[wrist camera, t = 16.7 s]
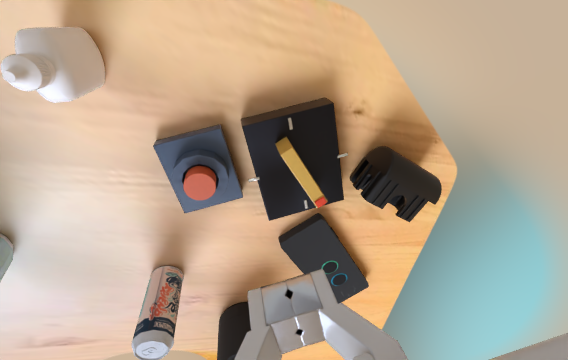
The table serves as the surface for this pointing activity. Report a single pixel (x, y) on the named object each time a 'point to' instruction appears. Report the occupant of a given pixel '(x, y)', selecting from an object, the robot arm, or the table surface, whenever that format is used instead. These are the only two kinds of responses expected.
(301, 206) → the rotary switch
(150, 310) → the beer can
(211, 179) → the button
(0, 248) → the disposable coffee cup
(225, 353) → the pen holder
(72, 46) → the eye dropper bottle
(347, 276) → the smart home device
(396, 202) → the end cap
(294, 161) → the rotary switch knob
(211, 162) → the button box
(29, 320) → the table surface
